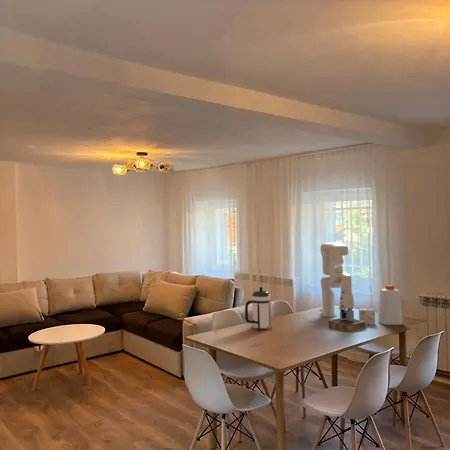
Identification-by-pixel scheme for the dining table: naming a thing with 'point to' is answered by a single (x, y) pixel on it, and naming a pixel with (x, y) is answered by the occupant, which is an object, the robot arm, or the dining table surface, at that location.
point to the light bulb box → (367, 316)
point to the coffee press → (260, 309)
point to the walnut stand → (347, 324)
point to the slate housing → (348, 314)
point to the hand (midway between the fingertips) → (346, 317)
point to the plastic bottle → (390, 306)
